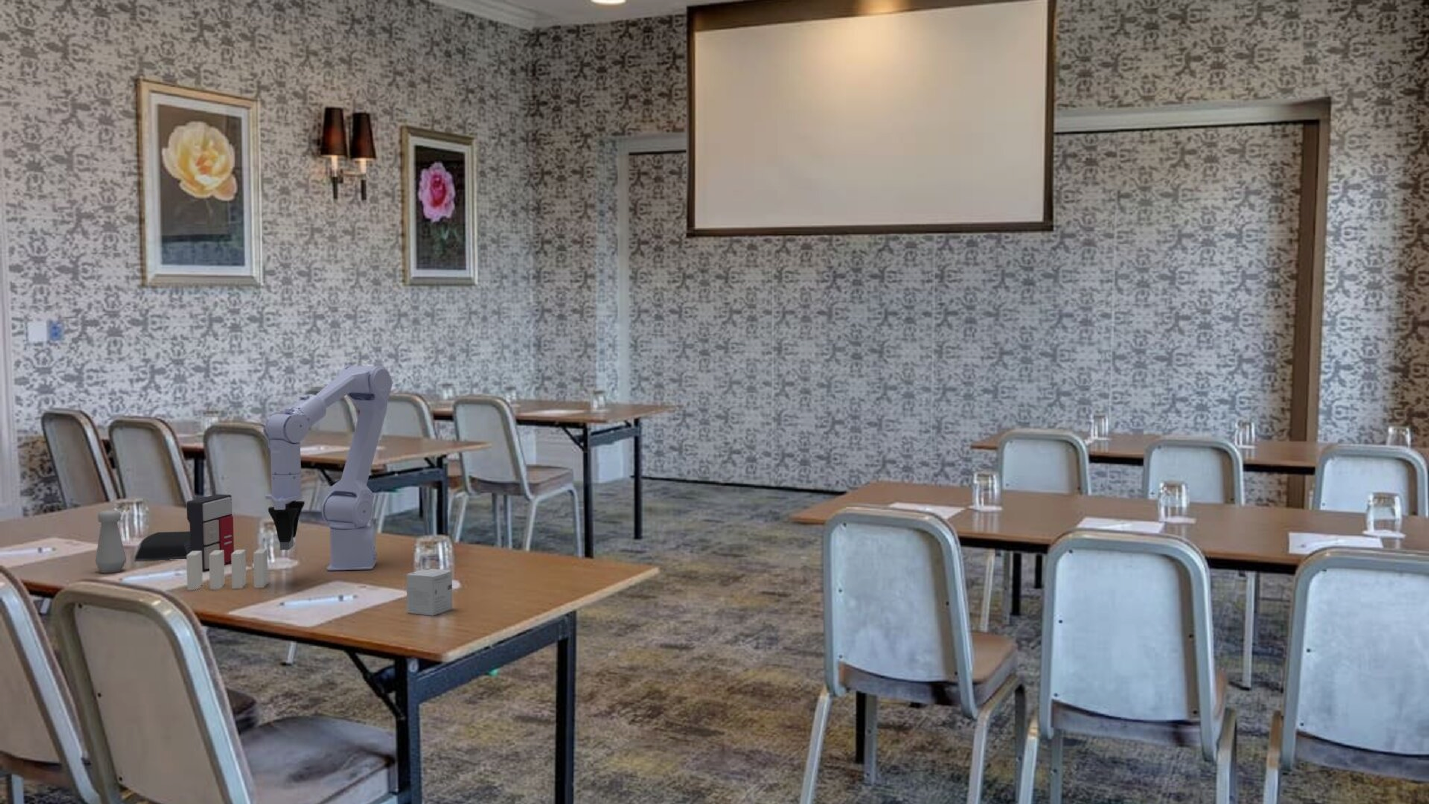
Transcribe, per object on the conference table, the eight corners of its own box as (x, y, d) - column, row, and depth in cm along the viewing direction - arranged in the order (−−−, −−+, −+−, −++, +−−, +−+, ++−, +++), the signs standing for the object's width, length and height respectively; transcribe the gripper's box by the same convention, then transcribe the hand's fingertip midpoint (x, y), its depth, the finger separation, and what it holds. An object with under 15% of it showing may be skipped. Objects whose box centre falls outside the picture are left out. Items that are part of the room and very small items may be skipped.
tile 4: (224, 584, 245) (223, 550, 245) (219, 589, 241) (218, 554, 241) (215, 584, 245) (214, 550, 245) (209, 589, 241) (209, 554, 240)
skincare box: (433, 616, 220) (433, 576, 220) (406, 613, 222) (405, 573, 222) (453, 609, 226) (452, 570, 225) (426, 605, 228) (425, 567, 228)
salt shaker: (132, 570, 258) (130, 509, 257) (109, 575, 253) (107, 513, 252) (113, 567, 261) (111, 507, 260) (89, 572, 256) (87, 511, 255)
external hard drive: (129, 564, 267) (128, 545, 267) (151, 547, 286) (151, 530, 286) (192, 561, 270) (192, 543, 269) (210, 545, 289) (209, 528, 288)
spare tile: (293, 545, 248) (292, 511, 248) (289, 549, 244) (288, 515, 243) (284, 546, 248) (283, 512, 247) (280, 550, 244) (279, 515, 243)
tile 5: (202, 584, 245) (201, 550, 244) (197, 589, 240) (196, 555, 240) (193, 585, 244) (192, 551, 244) (187, 590, 240) (186, 555, 240)
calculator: (206, 572, 256) (204, 502, 255) (188, 571, 257) (186, 501, 256) (236, 561, 267) (234, 494, 266) (219, 561, 268) (217, 493, 267)
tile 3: (246, 583, 246) (245, 549, 246) (241, 588, 242) (240, 553, 241) (237, 583, 246) (236, 549, 245) (232, 588, 241) (231, 554, 241)
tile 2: (268, 582, 247) (267, 548, 246) (263, 587, 242) (262, 553, 242) (258, 583, 246) (258, 549, 246) (254, 588, 242) (253, 553, 242)
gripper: (272, 468, 251) (274, 533, 252) (257, 478, 237) (259, 546, 238) (308, 468, 252) (309, 532, 253) (294, 477, 238) (296, 545, 239)
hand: (287, 539), depth 246 cm, fingers closed on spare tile, 4 cm apart
